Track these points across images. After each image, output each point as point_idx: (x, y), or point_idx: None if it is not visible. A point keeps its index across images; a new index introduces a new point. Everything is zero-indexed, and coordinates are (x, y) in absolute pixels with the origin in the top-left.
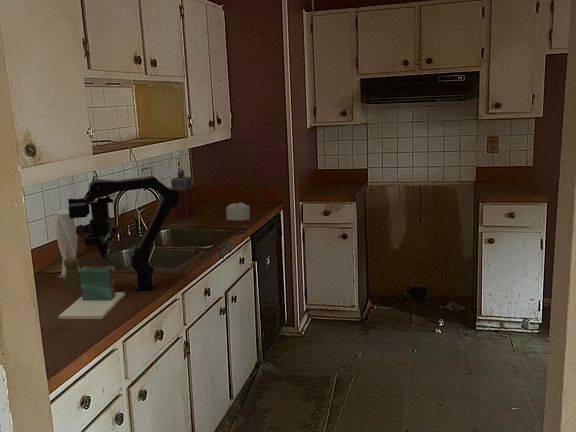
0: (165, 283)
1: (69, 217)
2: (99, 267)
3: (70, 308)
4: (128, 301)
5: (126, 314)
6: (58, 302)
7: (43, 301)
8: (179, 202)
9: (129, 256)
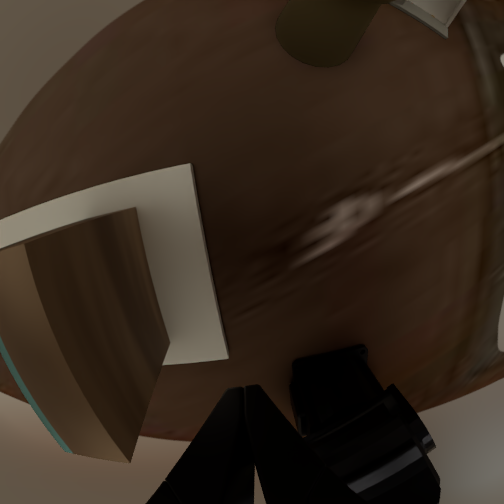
0: None
1: None
2: (59, 399)
3: (16, 226)
4: (166, 388)
5: None
6: (88, 98)
7: (99, 34)
8: None
9: (347, 484)
